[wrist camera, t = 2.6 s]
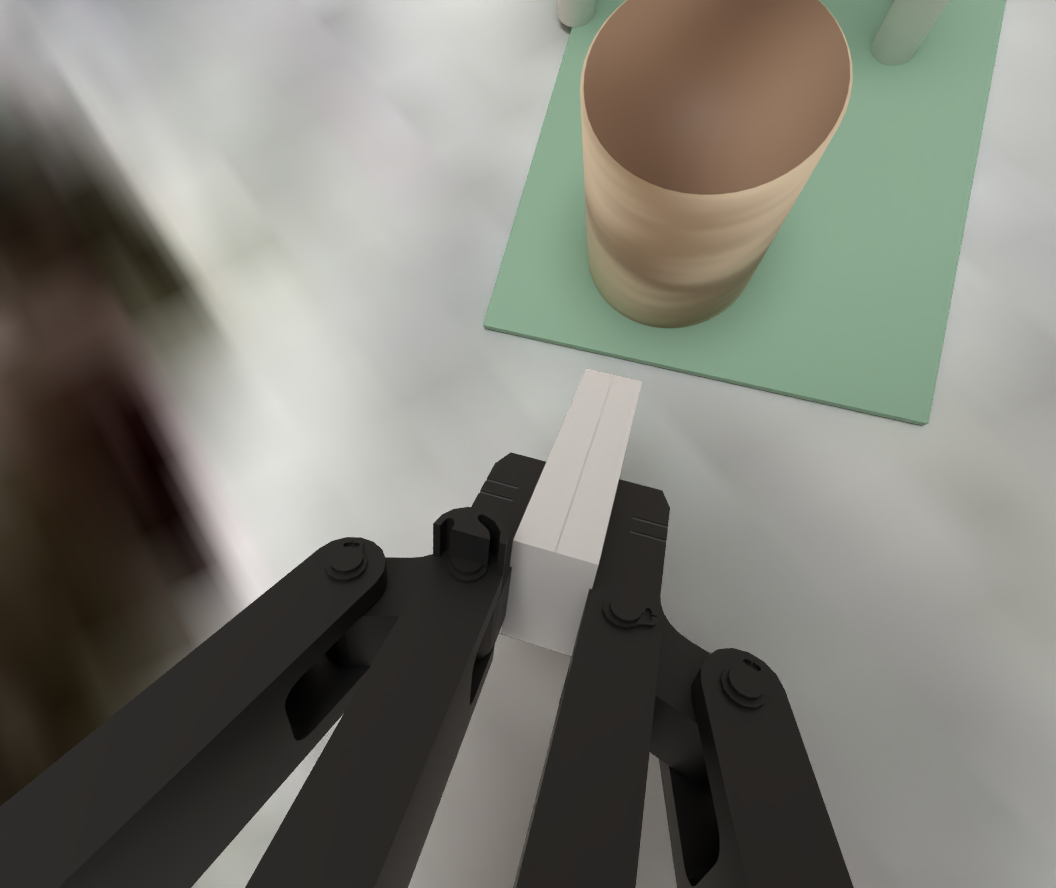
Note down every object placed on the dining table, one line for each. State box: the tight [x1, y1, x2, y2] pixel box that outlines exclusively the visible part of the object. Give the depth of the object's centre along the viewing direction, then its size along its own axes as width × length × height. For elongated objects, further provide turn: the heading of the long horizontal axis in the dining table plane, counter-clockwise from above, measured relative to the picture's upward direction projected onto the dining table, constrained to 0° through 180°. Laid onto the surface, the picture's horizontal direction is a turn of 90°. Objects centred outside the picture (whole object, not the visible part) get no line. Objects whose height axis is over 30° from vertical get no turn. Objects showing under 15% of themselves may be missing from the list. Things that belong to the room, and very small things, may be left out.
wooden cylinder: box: [580, 0, 853, 328], centre depth 19 cm, size 7×7×9 cm
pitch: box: [483, 0, 1006, 425], centre depth 24 cm, size 18×22×1 cm
